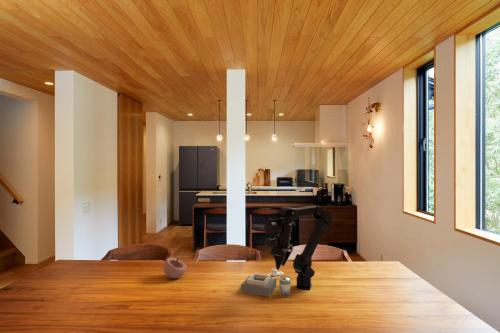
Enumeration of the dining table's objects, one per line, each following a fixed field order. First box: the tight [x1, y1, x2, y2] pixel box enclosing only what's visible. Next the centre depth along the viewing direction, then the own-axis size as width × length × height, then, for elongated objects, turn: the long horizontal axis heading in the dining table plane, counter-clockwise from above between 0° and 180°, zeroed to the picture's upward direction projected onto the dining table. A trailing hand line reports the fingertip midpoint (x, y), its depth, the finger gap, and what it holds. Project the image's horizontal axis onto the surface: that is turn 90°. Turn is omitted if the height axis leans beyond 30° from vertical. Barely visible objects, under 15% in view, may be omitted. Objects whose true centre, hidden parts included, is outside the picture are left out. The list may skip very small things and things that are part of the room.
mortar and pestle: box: [163, 256, 187, 279], centre depth 165 cm, size 12×12×12 cm
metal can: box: [278, 275, 291, 298], centre depth 144 cm, size 5×5×8 cm
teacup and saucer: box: [267, 267, 284, 279], centre depth 167 cm, size 9×8×4 cm
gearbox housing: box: [240, 272, 277, 298], centre depth 149 cm, size 14×12×6 cm
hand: (280, 267), depth 144 cm, fingers open, 9 cm apart
